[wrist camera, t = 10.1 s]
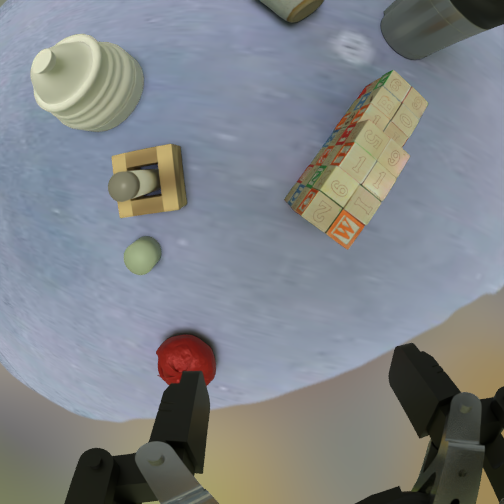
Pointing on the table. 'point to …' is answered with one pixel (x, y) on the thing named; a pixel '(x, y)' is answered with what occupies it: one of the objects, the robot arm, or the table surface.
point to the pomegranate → (185, 358)
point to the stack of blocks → (359, 160)
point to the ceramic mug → (293, 8)
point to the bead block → (169, 180)
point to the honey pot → (87, 83)
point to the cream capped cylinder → (133, 184)
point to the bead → (142, 255)
